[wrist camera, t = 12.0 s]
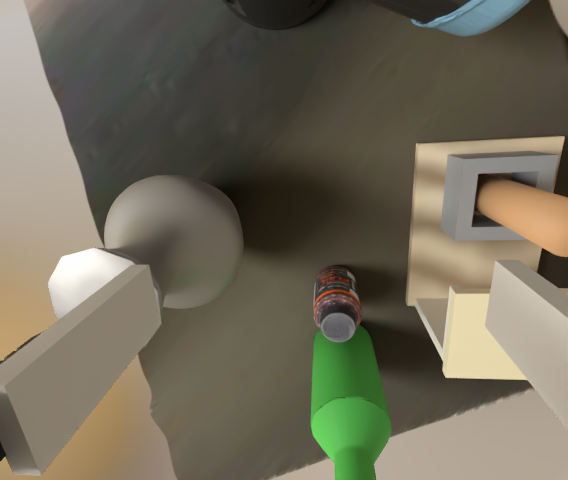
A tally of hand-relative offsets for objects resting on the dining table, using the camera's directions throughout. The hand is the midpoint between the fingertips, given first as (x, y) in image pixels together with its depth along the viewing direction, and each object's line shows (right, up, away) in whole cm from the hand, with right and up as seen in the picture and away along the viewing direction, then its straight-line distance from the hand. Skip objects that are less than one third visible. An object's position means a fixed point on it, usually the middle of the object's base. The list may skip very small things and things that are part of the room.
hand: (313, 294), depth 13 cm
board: (+24, +4, +31) cm, 39 cm away
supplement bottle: (+6, -4, +36) cm, 37 cm away
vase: (-11, +6, +34) cm, 37 cm away
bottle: (+8, -13, +39) cm, 42 cm away
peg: (+23, +8, +28) cm, 37 cm away
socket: (+23, +8, +28) cm, 37 cm away
